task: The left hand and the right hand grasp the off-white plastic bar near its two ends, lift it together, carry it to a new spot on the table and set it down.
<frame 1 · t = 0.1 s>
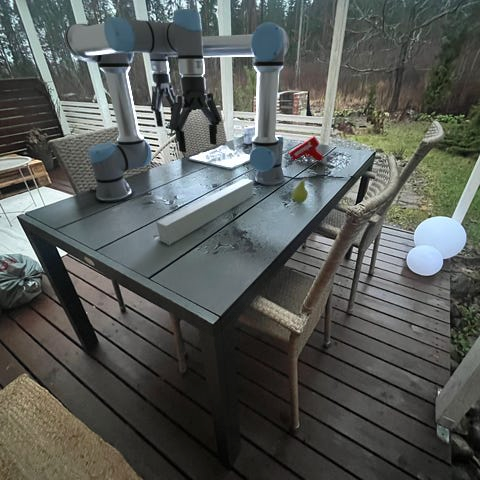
left hand: (198, 147, 94), 28 cm above the table, tool pointing down, fingers open, 13 cm apart
right hand: (167, 124, 132), 28 cm above the table, tool pointing down, fingers open, 13 cm apart
bar: (213, 215, 112), on the table
relief map: (223, 159, 178), on the table
fruit: (299, 202, 122), on the table
toy gun: (305, 161, 174), on the table
ink box: (249, 143, 215), on the table
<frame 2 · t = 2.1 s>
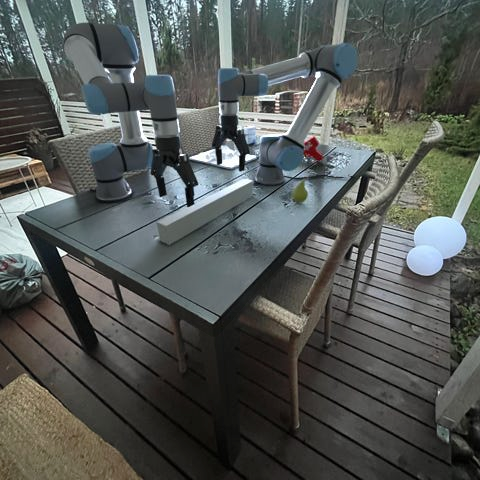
left hand: (176, 200, 92), 13 cm above the table, tool pointing down, fingers open, 13 cm apart
right hand: (230, 167, 118), 14 cm above the table, tool pointing down, fingers open, 13 cm apart
nothing on the table moved.
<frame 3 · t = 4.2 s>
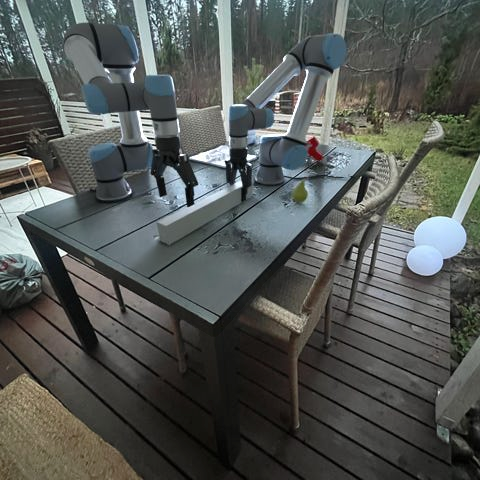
left hand: (176, 200, 92), 13 cm above the table, tool pointing down, fingers open, 13 cm apart
right hand: (238, 199, 123), 1 cm above the table, tool pointing down, fingers closed on bar, 5 cm apart
bar: (213, 215, 112), on the table, touching right hand
everything else where it was.
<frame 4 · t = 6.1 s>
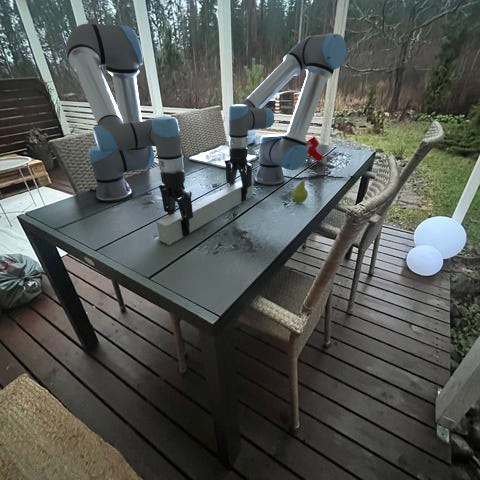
left hand: (181, 232, 99), 1 cm above the table, tool pointing down, fingers closed on bar, 5 cm apart
right hand: (238, 199, 123), 1 cm above the table, tool pointing down, fingers closed on bar, 5 cm apart
bar: (213, 215, 112), on the table, touching right hand, left hand
everything else where it was.
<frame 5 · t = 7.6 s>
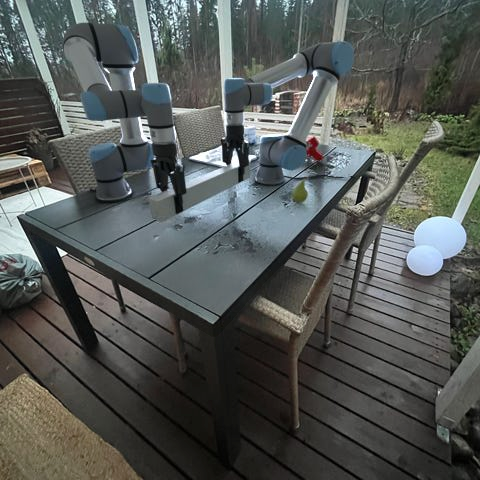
left hand: (174, 210, 95), 9 cm above the table, tool pointing down, fingers closed on bar, 5 cm apart
right hand: (235, 180, 119), 9 cm above the table, tool pointing down, fingers closed on bar, 5 cm apart
bar: (208, 194, 108), point 9 cm above the table, touching right hand, left hand
everything else where it was.
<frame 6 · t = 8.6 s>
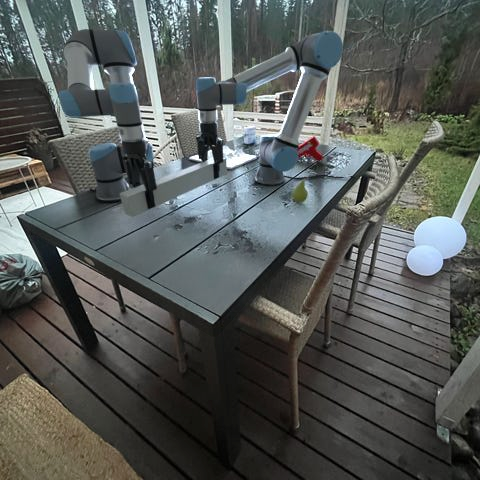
left hand: (146, 205, 99), 9 cm above the table, tool pointing down, fingers closed on bar, 5 cm apart
right hand: (211, 176, 123), 9 cm above the table, tool pointing down, fingers closed on bar, 5 cm apart
bar: (183, 190, 111), point 9 cm above the table, touching right hand, left hand
everything else where it was.
when the left hand's fingers open (2 cm above the table, at t = 11.0 s): bar drops 2 cm, on the table.
when the right hand's fingers open (2 cm above the table, at t = 11.0 s): bar drops 2 cm, on the table.
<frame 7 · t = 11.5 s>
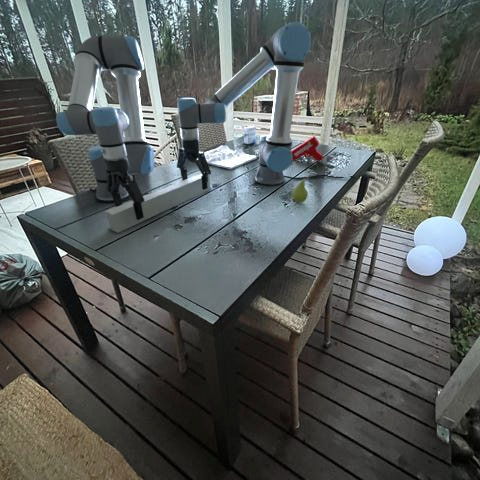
left hand: (129, 214, 104), 4 cm above the table, tool pointing down, fingers open, 12 cm apart
right hand: (195, 185, 128), 4 cm above the table, tool pointing down, fingers open, 12 cm apart
bar: (167, 206, 119), on the table
everything else where it was.
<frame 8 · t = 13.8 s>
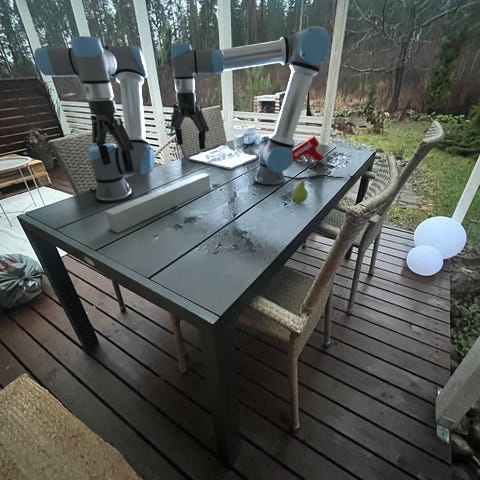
left hand: (118, 167, 95), 22 cm above the table, tool pointing down, fingers open, 13 cm apart
right hand: (191, 146, 119), 22 cm above the table, tool pointing down, fingers open, 13 cm apart
nothing on the table moved.
at the end: bar inside the target area (0.1 cm from its centre), on the table; bar tilted 0°; bar never tilted more than 1° during the clip; both hands held the bar at the same time; the left hand is holding nothing; the right hand is holding nothing; bar at rest at the end (0.0 cm/s) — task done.
